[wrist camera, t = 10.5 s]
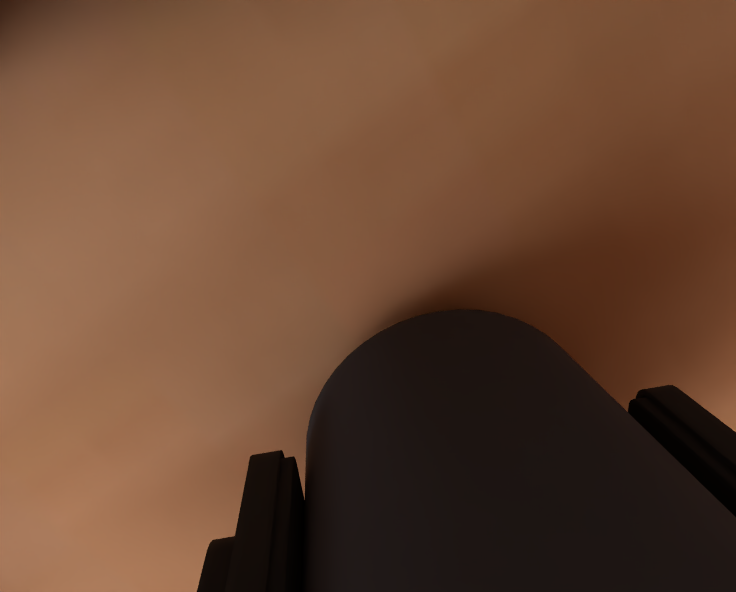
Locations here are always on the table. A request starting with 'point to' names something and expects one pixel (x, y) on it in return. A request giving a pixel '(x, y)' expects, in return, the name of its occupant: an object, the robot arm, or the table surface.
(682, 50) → the table surface
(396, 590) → the roller
